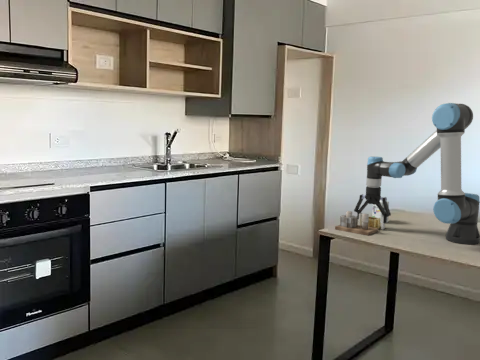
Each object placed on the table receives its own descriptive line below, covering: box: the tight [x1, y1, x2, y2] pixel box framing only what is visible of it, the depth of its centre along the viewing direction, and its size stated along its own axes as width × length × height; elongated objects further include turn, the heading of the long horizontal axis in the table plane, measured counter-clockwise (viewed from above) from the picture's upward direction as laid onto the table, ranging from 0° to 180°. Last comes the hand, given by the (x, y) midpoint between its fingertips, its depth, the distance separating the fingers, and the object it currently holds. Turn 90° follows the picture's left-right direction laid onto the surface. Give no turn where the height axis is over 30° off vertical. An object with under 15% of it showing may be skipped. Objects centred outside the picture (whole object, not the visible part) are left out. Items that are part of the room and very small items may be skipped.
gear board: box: [334, 210, 379, 236], centre depth 254 cm, size 18×12×9 cm, turn 50°
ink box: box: [371, 200, 390, 224], centre depth 276 cm, size 9×5×12 cm, turn 21°
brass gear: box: [368, 216, 381, 230], centre depth 260 cm, size 8×8×5 cm
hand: (371, 227), depth 261 cm, fingers open, 12 cm apart
